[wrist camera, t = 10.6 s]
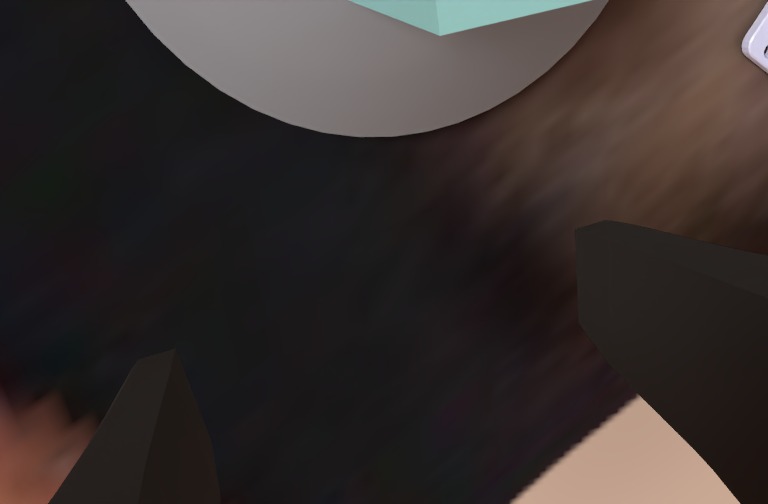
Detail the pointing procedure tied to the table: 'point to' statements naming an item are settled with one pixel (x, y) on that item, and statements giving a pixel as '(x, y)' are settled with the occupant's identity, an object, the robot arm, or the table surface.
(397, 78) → the plate
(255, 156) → the table surface
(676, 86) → the table surface
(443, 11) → the tall mint rectangular block
